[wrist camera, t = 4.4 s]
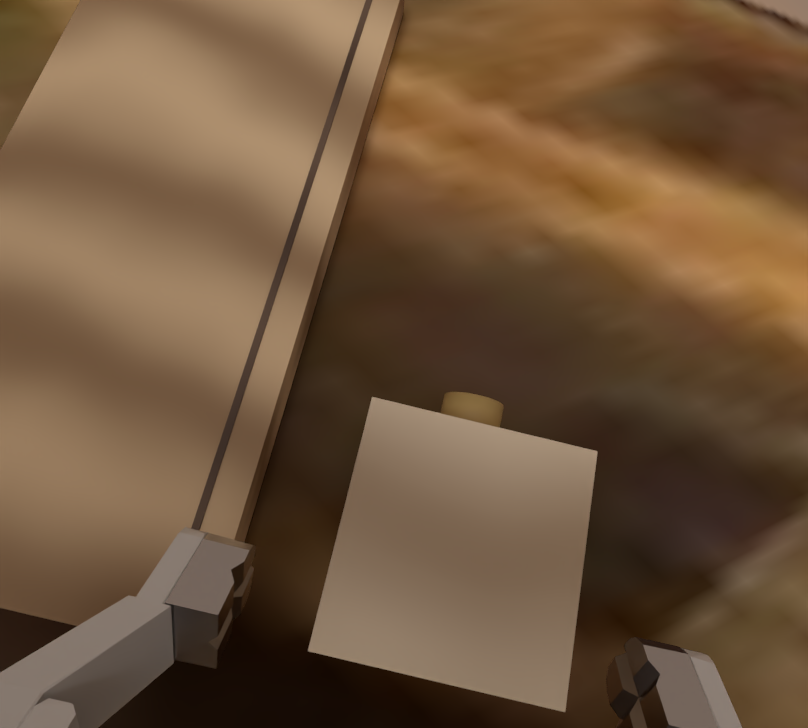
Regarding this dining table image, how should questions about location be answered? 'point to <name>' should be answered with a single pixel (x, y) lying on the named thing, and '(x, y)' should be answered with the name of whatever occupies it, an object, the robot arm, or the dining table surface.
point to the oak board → (165, 273)
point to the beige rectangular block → (460, 552)
